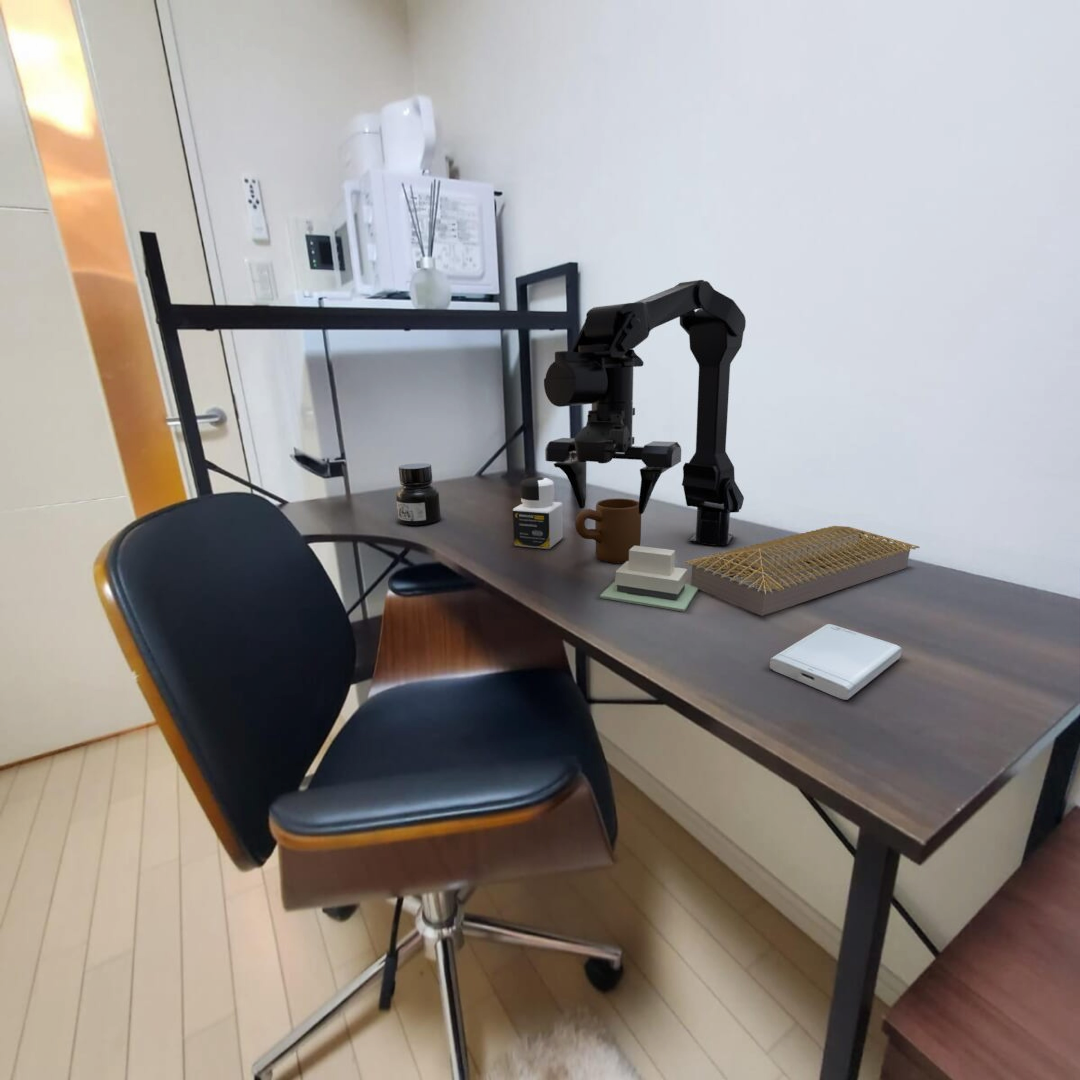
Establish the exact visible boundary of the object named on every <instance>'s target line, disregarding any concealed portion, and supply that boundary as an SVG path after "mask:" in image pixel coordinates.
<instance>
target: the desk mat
mask: <svg viewBox="0 0 1080 1080" xmlns="http://www.w3.org/2000/svg"><path fill="white" fill-rule="evenodd" d="M699 590H700V589H699V588H696V587H694V586H692V585H691V584H689V583H685V588H684V590H683V591H682V593H681V594H680V596H679V597H678V599H677V600H672V599H666V598H660V597H653V596H647V595H641V594H634V593H628V592H622V591H617V585H615V580H614V581H613V582H612V583H611V584H610V585H609V586H608V587H607V588H606V589H605V590H604V591H603V592H602V593H601V594H600V595H599V598H600V599H604V600H611V601H616V602H623V603H628V604H635V605H640V606H648V607H653V608H658V609H659V608H660V609H664V610H665V609H666V610H671V611H677V612H682V613H685V612H686V611H687V609H688V607H689V606H690V604H691V602H692V601H693V599H694V598H695V596H696V595H697V593H698V592H699Z"/></svg>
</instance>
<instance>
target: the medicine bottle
mask: <svg viewBox="0 0 1080 1080" xmlns="http://www.w3.org/2000/svg"><path fill="white" fill-rule="evenodd" d="M519 485H520V502H521V503H520V504H519V505H517V506H515V507H514V508H513V509H512V525H513V527H512V528H513V529H512V530H513V545H514V546H515V547H523V548H533V549H534V548H535V549H543V550H550V549H551V548H552V547H554V546H555V545H556V544H558V543H559V542H560V541H561V540H563V537H564V531H563V530H564V528H563V524H564V523H563V522H564V521H563V503H562V502H561V501H555V483H554V481H553V480H552V479H550V478H547V477H541V476H540V477H538V476H537V477H528V478H525V479H524V480H521V483H520V484H519Z"/></svg>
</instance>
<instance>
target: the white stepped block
mask: <svg viewBox="0 0 1080 1080" xmlns="http://www.w3.org/2000/svg"><path fill="white" fill-rule="evenodd" d="M614 577H615V579H614V581H615V585H617V591H622V592H628V593H634V594H641V595H647V596H653V597H660V598H666V599H672V600H677V599H678V597H679V596H680V594H681V593H682V591H683V590H684V588H685V584H687V582H688V568H683V567H676V550H675V549H668V548H658V547H650V546H643V545H640V546H635V545H634V546H633V547H632V548H631V549H630V550H629V561H626V562H625V563H622V565H621V566H620V567H619V568H618V569H616V571H615V576H614Z"/></svg>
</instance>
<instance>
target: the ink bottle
mask: <svg viewBox="0 0 1080 1080" xmlns="http://www.w3.org/2000/svg"><path fill="white" fill-rule="evenodd" d="M432 469H433V468H432V464H431V463H420V462H419V463H416V462H415V463H408V464H401V465H399V466H398V475H399V484H400V488H399V489H398V490H397V492H396V493H395V496H396V509H397V517H398V522H399V523H400V524H402V525H406V526H424V525H430V524H433V523H436V522H438V521H440V520H441V517H442V516H441V504H440V493H439V492H440V491H439V490H438V488H437V487H435V486H434V485H433V484H432V483H433V481H434V480H433V470H432Z"/></svg>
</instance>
